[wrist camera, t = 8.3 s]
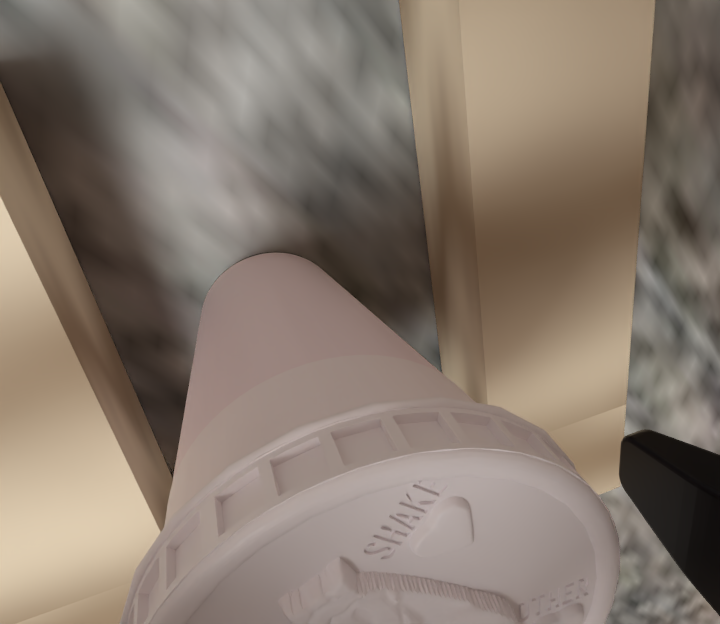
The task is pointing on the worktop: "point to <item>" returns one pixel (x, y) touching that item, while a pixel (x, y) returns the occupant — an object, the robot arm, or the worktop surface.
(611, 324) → the slot board
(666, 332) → the worktop surface
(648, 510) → the robot arm
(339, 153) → the worktop surface
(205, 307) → the smoothie
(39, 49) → the worktop surface
